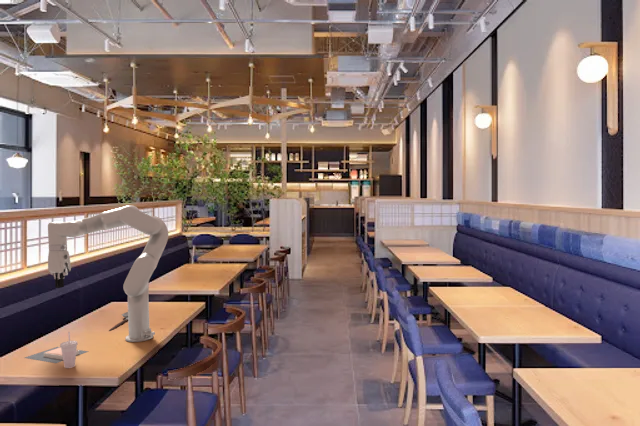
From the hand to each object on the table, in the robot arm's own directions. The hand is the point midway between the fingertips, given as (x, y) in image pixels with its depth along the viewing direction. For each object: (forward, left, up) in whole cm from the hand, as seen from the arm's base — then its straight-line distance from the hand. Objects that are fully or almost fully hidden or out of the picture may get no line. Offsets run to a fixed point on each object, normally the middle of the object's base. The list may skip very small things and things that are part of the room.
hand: (59, 287), depth 225 cm
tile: (-9, +12, -26) cm, 30 cm away
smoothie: (-30, +20, -27) cm, 45 cm away
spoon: (+3, -40, -28) cm, 49 cm away
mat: (-12, +12, -27) cm, 32 cm away
